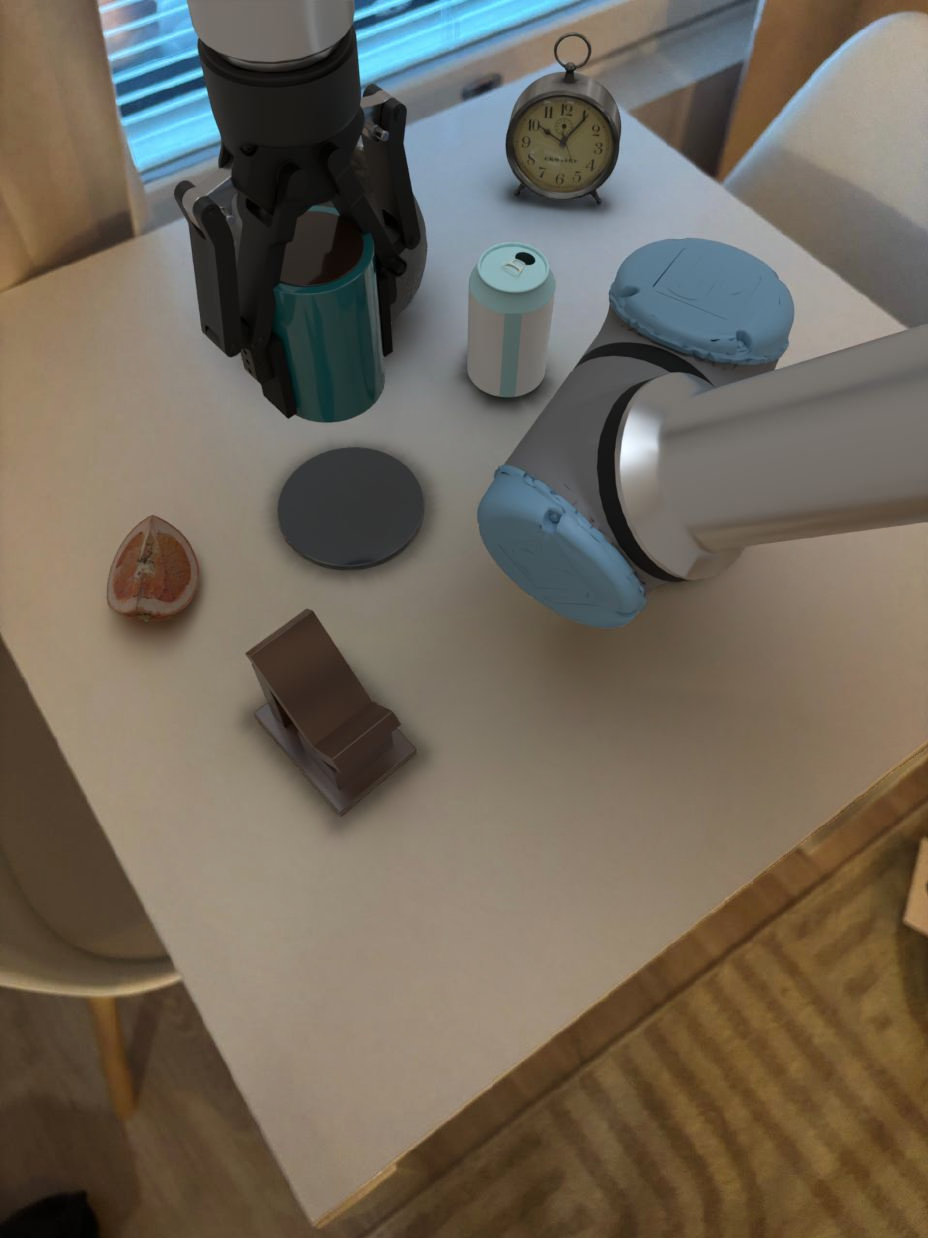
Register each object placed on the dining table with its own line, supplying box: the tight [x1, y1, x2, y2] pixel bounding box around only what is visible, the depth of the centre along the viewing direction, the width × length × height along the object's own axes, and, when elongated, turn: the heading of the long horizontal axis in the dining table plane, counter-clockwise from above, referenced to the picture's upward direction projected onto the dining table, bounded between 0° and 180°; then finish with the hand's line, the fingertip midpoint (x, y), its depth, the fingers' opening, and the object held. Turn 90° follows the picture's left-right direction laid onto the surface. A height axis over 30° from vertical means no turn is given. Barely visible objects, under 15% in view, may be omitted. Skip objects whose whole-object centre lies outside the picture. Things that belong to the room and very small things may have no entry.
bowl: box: [229, 143, 428, 324], centre depth 83 cm, size 18×18×13 cm
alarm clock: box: [504, 31, 622, 206], centre depth 90 cm, size 11×5×16 cm, turn 80°
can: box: [466, 241, 557, 398], centre depth 80 cm, size 7×7×12 cm
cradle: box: [244, 608, 417, 817], centre depth 64 cm, size 10×7×11 cm
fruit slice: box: [106, 514, 200, 623], centre depth 72 cm, size 8×7×5 cm
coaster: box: [276, 446, 425, 571], centre depth 78 cm, size 12×12×1 cm
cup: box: [271, 206, 386, 424], centre depth 60 cm, size 13×8×13 cm
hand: (329, 373), depth 64 cm, fingers closed on cup, 8 cm apart
